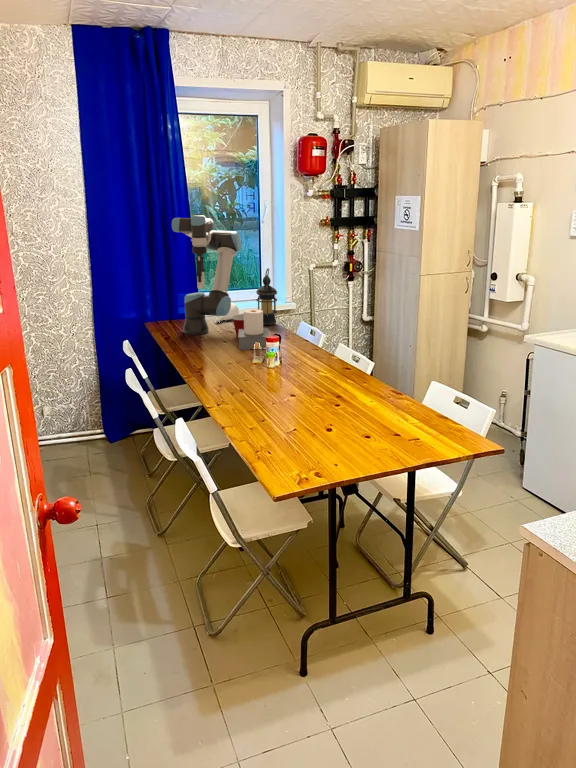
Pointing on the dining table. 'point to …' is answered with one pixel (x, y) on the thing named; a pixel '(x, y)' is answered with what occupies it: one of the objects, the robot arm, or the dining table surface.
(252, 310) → the toilet paper
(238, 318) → the plastic cup
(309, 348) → the dining table surface
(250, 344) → the grey box
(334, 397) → the dining table surface
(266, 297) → the lantern
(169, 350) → the dining table surface
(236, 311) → the rocket engine
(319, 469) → the dining table surface
